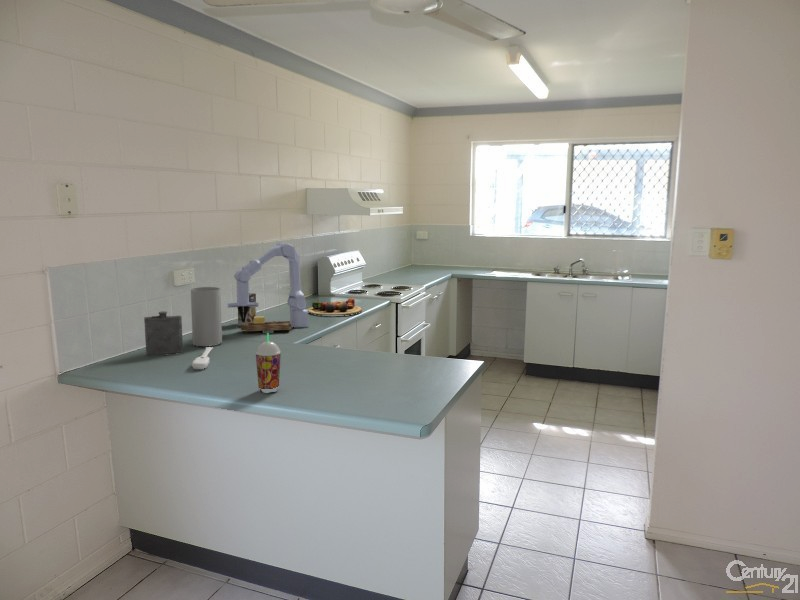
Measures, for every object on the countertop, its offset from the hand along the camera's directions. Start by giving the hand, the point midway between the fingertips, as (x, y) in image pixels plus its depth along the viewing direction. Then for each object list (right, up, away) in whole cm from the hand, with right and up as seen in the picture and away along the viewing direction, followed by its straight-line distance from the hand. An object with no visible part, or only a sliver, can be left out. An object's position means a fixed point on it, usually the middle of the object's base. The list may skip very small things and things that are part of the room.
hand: (243, 321), depth 287 cm
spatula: (-2, -14, -52) cm, 54 cm away
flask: (-22, -12, -42) cm, 49 cm away
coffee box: (-3, -3, +19) cm, 20 cm away
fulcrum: (+11, -5, +4) cm, 13 cm away
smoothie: (+32, -21, -88) cm, 96 cm away
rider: (+7, -2, +2) cm, 8 cm away
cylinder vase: (-10, -9, -24) cm, 27 cm away
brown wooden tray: (+10, -4, +3) cm, 11 cm away
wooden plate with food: (+38, +3, +60) cm, 71 cm away
